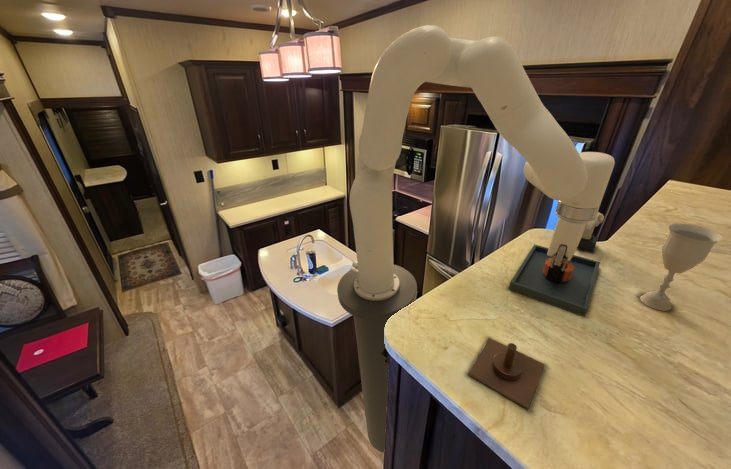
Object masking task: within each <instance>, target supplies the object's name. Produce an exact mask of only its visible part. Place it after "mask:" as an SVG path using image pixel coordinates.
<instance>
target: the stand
mask: <svg viewBox="0 0 731 469" xmlns="http://www.w3.org/2000/svg"><path fill="white" fill-rule="evenodd" d="M544 366H545V363H543V362H540V361H538V360H536V359H534V358H532V357H531V356H528V355H526V354H524V353H523V352H519V351H518V346H517V345H516V344H515V343H514V342H513V343H512V342H509V343H508V344H507V345H505V344H503V343H501V342H499V341H497V340H495V339H493V338H490V337H488V338H487V340H486V341H485V343H484V345H483V347H482V348H481V350H480V352H479V354H478V356H477V357H476V359H475V360H474V362H473V364H472V366H471V367H470V369H469V371H468V372H467V375H468V376H469V377H471V378H472V379H475V380H476V381H478V382H480V383H482V384H483V385H485V386H487V387H488V388H490V389H492V390H493V391H496V392H497V393H499V394H500V395H502V396H504V397H506V398H507V399H509V400H511V401H512V402H513V403H516V404H518V405H519V406H521V407H522V408H525V409H526V410H529V408H530V405H531V402H532V400H533V397H534V394H535V392H536V391H535V390H536V389H537V385H538V383H539V380H540V378H541V375H542V372H543V369H544Z"/></svg>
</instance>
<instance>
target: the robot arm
mask: <svg viewBox="0 0 731 469" xmlns="http://www.w3.org/2000/svg"><path fill="white" fill-rule="evenodd" d="M521 62H522V61H521V60H520V58H519V57H518V55H517V53H516V51H515V49H514V48H513V45H512V44H511V43H510V42H509V41H508V40H507V39H505V38H504V37H502V36H495V35H493V36H487V37H484V38H481V39H465V38H464V39H463V38H455V37H450V36H449V35H448V33H447V32H446V31H445V30H444V29H443V28H442V27H440V26H438V25H434V24H433V25H432V24H427V25H421V26H418V27H415V28H413V29H411V30H408V31H407V32H404V33H403V34H402V35H400V36H398V37H397V38H396V39H394V40H393V42H391V43H390V44H389V45H388V46H387V48H385V50H384V51H383V53H382V54H381V56H380V57H379V59H378V60H377V63H376V65H375V67H374V69H373V72H372V75H371V79H370V83H369V88H368V94H367V98H366V99H367V100H366V104H365V110H364V115H363V123H362V128H361V133H360V135H359V139H358V158H357V164H356V165H357V167H356V173H355V178H354V180H353V182H352V185H351V188H350V193H349V209H350V215H351V220H352V226H353V235H354V236H353V237H354V242H355V243H354V244H355V253H356V260H354V261H353V262H352V267H350V268H349V271H350V272H352V273H355V274H356V279H355V281H354V289H355V292H356V293H357V294H358V295H359V296H360V297H362V298H364V299H367V300H372V301H379V300H385V299H388V298H390V297H392V296H394V295H395V294H396V293H397V292H398V290H399V287H400V281H399V278H398V277H397V276H396V275H395V274H394V265H395V264H394V234H393V233H394V230H393V178H394V175H395V174H394V173H395V169H396V164H397V161H398V160H399V158H400V155H401V152H402V148H403V137H404V133H405V128H406V123H407V119H408V115H409V112H410V107H411V104H412V100H413V98H414V95H415V94H416V92H417V90H418V88H420V86H421V85H422V84H424V83H432V84H438V85H444V86H453V87H462V88H471V90H472V92H473V93H474V95H475V96H476V98H477V99H478V101H479V102H480V104H481V105H482V108H483V109H484V111H485V113H486V114H487V116H488V118H489V119H490V122H492V124H493V126H494V128H495V129H496V131H497V132H498V133H499V135H500V136H501V137H502V139H503V140H505V142H507V144H509V145H510V146H511V147H513V148H514V149H515V150H516V151H517V152H518V153H519V154H520V155H521V156H522V157H523V159H524V160H525V164H524V165H523V175H524V177H525V179H526V180H527V181H528V182H529V183H530V184H531V185H532V186H534V187H535V188H536V189H538V190H539V191H540V192H542V193H543V195H545V196H546V197H548V198H549V199H550V200H551V199H552V200H554V201H558V202H557V205H556V208H555V216H556V217H558V219H557V222H556V224H555V227H554V231H553V234H552V236H551V240H550V244H549V247H548V248H549V249H548V252H547V255H548V256H551V257H552V256H553V255H554V256H553V260H552V263H551V266H549V269H548V273H547V276H546V280H549V281H552V282H555V283H558V284H560V283H561V281H562V278H563V275H564V272H565V270H564V268H565V265H566V262H567V261H568V262H569V261H570V260H571V258H572V256H573V255H575V253H576V250H578V249H577V247H578V244H579V242H580V240H581V237H582V235H583V232H584V229H585V226H586V224H587V223H589V222H593V221H594V220H595V218H596V216H597V213H598V212H599V209H600V207H601V203H602V201H603V198H604V196H605V193H606V190H607V187H608V184H609V182H610V178H611V177H612V173H613V170H614V167H615V164H616V162H615V158H614V157H613V156H612V155H610V154H607V153H604V152H598V151H582V152H579V150H578V149H577V148H576V146H575V144H574V142H573V141H572V139H571V138H570V136H569V135H568V134H567V133H566V131H565V130H564V129H563V127H562V126H561V125H560V124H559V123H558V121H557V120H556V119H555V117H554V116H553V115H552V113H551V112H550V111H549V109H547V107H546V106H545V105H544V103H543V102H542V101H541V98H540V97H539V95H538V93H537V91H536V89H535V87H534V85H533V84H532V81H531V80H530V77H529V75H528V74H527V72H526V70H525V68H524V66H523V64H522V63H521ZM562 260H563V261H564V262H563V265H562V264H561V262H562ZM355 268H357V269H355Z"/></svg>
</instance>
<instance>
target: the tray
mask: <svg viewBox="0 0 731 469" xmlns="http://www.w3.org/2000/svg"><path fill="white" fill-rule="evenodd" d="M548 249H549V247H547V246H542V245H538V244H535V243H534V244H533V246H532V247H531V249H530V250H529V252H528V254H527V255H526V257H525V259H524V260H523V262H522V263H521V265H520V266H519V267H518V269H517V271H516V272H515V274H514V276H513V277H512V278H511V280H510V282H509V287H508V290H511V291H513V292H516V293H519V294H521V295H524V296H528V297H530V298H533V299H535V300H538V301H541V302H544V303H547V304H549V305H552V306H554V307H557V308H560V309H563V310H566V311H568V312H571V313H574V314H576V315H579V316H581V317H586V314H587V312H588V310H589V306H590V302H591V298H592V295H593V291H594V287H595V284H596V280H597V276H598V272H599V268H600V264H601V261H598V260H595V259H592V258H591V259H590V258H588V257H584V256H579V255H575V254H574V255H573V256H572V258H571V260H570V261H569V262H570V263H571V264H573V266H574V270H573V273H572V276H571V279H570V280H568V281H564V282H563V281H562V282H561V283H560V284H558V283H555V282H552V281H549V280H546V276H545V275H544V273H543V269H544V265H545V262H546V260H547V259H549V258H553V256H554V255H553V256H552V257H551V256H548V255H547V252H548Z"/></svg>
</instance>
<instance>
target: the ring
mask: <svg viewBox="0 0 731 469" xmlns="http://www.w3.org/2000/svg"><path fill="white" fill-rule="evenodd" d="M552 260H553V258H549V259H547V260H546V262H545V265H544V269H543V273H544V275H545V276H547V273H548V269H549V266H551V263H552ZM563 262H564V261H563V260H562V262H561V264H562V265H563ZM564 270H565V272H564V275H563V278H562V281H563V282H564V281H568V280H570V279H571V276H572V273H573V270H574V266H573V264H571V263H570V262H568V261H567V262H566V265H565V268H564ZM562 281H561V282H562Z"/></svg>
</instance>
